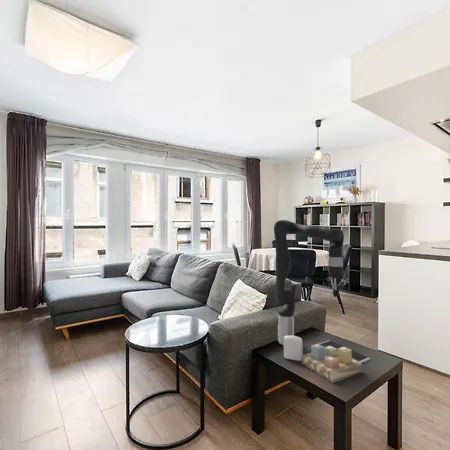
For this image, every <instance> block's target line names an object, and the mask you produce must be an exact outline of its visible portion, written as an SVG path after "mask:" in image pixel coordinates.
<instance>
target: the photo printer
mask: <svg viewBox="0 0 450 450" xmlns="http://www.w3.org/2000/svg"><path fill="white" fill-rule="evenodd" d="M303 344H304V343H303V339H302V338H301V337H300V336H297V335H294V336H292V335H288V336H285V337H284V345H283V358H284V359H287V360H292V361H298V362H302V356H303V355H304V346H303Z"/></svg>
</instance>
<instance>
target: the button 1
mask: <svg viewBox="0 0 450 450" xmlns="http://www.w3.org/2000/svg"><path fill="white" fill-rule="evenodd" d="M319 344H320V343H316V344H312V345H310V353H311V357H312V358H314V359H315V360H317V361H319V360H322V359H324V358H325V355H324V347H323V346H321V345H319Z"/></svg>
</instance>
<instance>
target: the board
mask: <svg viewBox="0 0 450 450" xmlns="http://www.w3.org/2000/svg"><path fill="white" fill-rule="evenodd" d="M324 355H325V358H328V357H330V356H328V355H326V354H324ZM332 357H334V358H335V359H337V360H338V351H337V355H335V356H332ZM301 363H302V365H303V366H304V365H305V367H307V368H308V369H309V368H310V369H309V370H311V371H312V370H313V372H314V373H316V374H317V373H318V374H317V375H319V376H320V375H321V377H322V378H324V379H325V380H327V381H328V382H330V383H332V384H334V383H337V382H339V381H342V380H344V379H348V378H349V377H353V376H355V375H358V374H360V373H362V372H363V367H362V366H363V362H362V363H361V362H359V361H357V360H355V359H353V358H352V362H351V363H348V364H344V363H342V362H340V361H339V367H337V368H334V369H331V368H329V367H327V366H326V365H325V361H324V359H322V360H319V361H317V360H315V359H314V358H312V357H311V352H310V353H306V354H303V356H302V361H301Z"/></svg>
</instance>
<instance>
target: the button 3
mask: <svg viewBox="0 0 450 450" xmlns="http://www.w3.org/2000/svg"><path fill="white" fill-rule="evenodd" d="M324 361H325V365H326V366H327V367H329V368H331V369H334V368H337V367H339V360H337V359H335V358H334V357H332V356H331V357H328V358H324Z"/></svg>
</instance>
